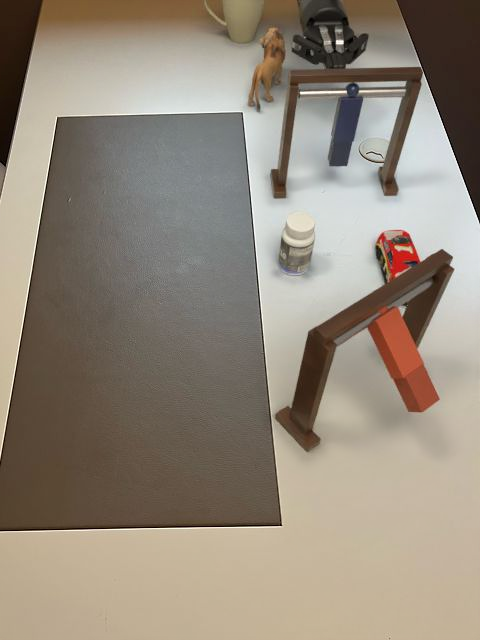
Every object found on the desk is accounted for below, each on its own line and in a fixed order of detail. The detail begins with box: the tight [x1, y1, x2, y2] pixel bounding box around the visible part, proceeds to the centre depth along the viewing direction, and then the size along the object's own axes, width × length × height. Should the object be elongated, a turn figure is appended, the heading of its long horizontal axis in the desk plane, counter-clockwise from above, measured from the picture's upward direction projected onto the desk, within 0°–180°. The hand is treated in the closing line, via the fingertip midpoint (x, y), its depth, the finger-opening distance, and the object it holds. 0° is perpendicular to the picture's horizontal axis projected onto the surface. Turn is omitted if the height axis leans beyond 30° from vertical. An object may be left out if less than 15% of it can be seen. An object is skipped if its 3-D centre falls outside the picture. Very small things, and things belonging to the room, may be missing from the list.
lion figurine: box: [247, 27, 286, 112], centre depth 115 cm, size 15×5×9 cm, turn 167°
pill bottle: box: [277, 211, 316, 276], centre depth 89 cm, size 5×5×8 cm
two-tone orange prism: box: [333, 277, 440, 413], centre depth 67 cm, size 2×15×13 cm
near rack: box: [274, 248, 455, 453], centre depth 72 cm, size 6×20×19 cm, turn 126°
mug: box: [203, 0, 266, 44], centre depth 125 cm, size 11×10×12 cm
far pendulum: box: [297, 82, 406, 168], centre depth 94 cm, size 2×15×13 cm, turn 91°
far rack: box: [269, 66, 424, 199], centre depth 95 cm, size 6×20×19 cm, turn 91°
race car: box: [375, 229, 421, 305], centre depth 90 cm, size 13×5×4 cm, turn 2°
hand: (337, 72), depth 97 cm, fingers closed
